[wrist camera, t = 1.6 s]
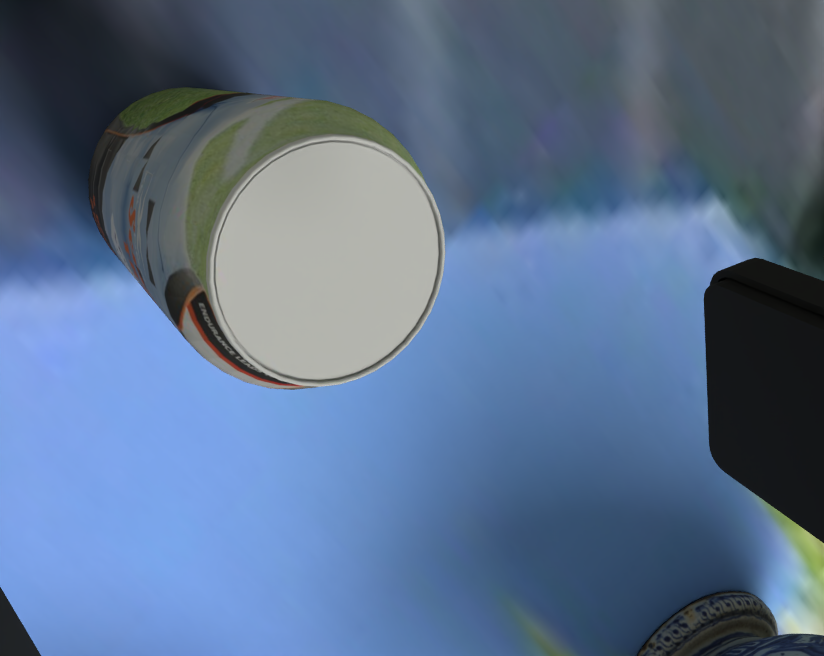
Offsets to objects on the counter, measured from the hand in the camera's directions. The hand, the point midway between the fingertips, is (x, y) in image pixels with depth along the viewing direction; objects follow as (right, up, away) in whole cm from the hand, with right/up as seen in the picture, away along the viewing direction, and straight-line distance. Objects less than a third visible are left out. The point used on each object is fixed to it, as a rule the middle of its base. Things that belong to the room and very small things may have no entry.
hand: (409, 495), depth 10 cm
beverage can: (-6, +7, +15) cm, 18 cm away
